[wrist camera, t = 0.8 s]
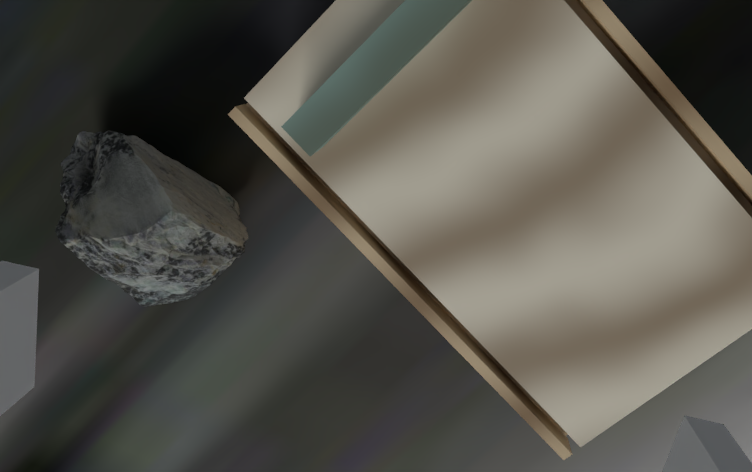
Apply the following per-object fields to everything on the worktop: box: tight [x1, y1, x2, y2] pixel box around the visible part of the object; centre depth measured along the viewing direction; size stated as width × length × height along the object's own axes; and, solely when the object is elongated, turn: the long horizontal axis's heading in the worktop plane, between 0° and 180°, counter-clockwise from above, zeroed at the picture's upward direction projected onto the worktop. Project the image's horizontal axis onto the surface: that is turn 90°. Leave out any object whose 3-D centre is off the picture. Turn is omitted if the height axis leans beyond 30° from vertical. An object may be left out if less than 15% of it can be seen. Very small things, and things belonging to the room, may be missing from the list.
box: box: [228, 0, 752, 460], centre depth 32 cm, size 22×14×10 cm, turn 45°
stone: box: [55, 131, 248, 306], centre depth 36 cm, size 10×10×10 cm
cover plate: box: [244, 0, 752, 447], centre depth 27 cm, size 22×12×4 cm, turn 45°
